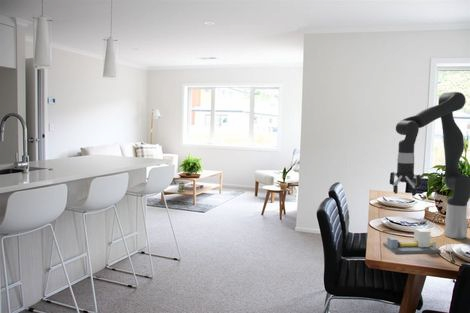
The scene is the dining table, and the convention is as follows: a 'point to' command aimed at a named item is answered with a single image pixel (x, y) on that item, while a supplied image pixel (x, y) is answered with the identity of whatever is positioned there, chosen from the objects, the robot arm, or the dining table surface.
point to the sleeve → (422, 237)
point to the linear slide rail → (409, 247)
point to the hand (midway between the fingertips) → (404, 194)
